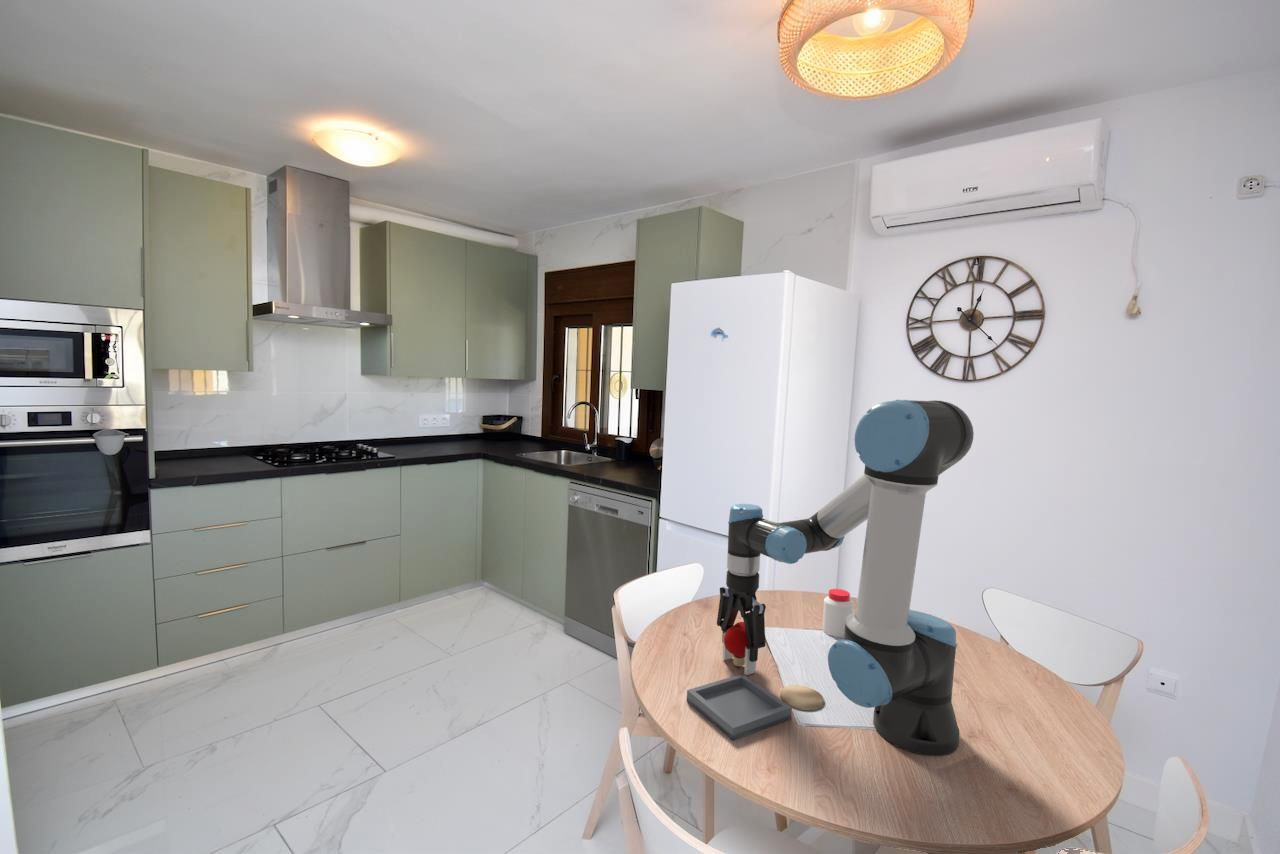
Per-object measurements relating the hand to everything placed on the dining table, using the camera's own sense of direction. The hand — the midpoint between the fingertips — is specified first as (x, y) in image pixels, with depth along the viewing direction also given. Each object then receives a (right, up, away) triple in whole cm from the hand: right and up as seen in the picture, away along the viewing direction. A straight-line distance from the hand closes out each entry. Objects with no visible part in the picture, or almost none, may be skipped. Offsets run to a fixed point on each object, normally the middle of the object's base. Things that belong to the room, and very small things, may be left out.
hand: (738, 665), depth 137 cm
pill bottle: (+30, 0, +21) cm, 37 cm away
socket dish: (-3, -2, -18) cm, 19 cm away
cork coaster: (+11, -2, -13) cm, 17 cm away
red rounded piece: (0, -1, 0) cm, 1 cm away
